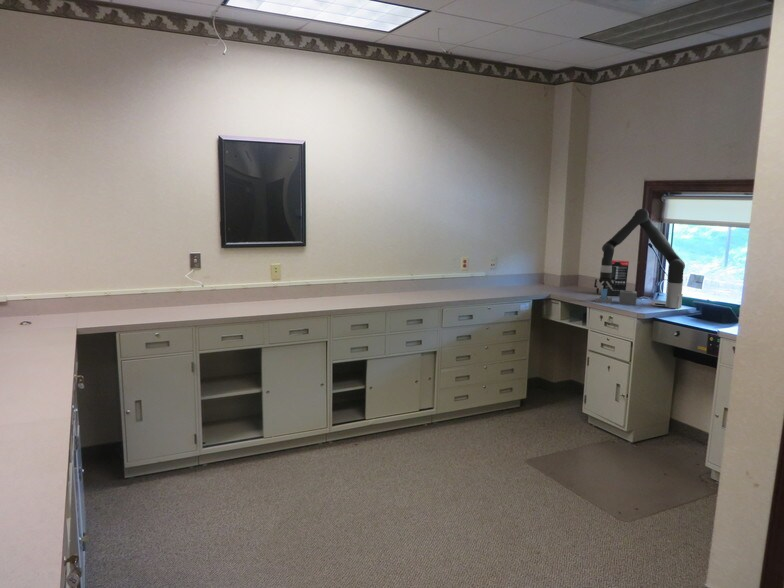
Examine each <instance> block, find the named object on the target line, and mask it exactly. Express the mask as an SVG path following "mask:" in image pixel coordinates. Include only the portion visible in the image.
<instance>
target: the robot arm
mask: <svg viewBox="0 0 784 588" xmlns="http://www.w3.org/2000/svg"><path fill="white" fill-rule="evenodd" d="M638 226H640V227H641V228H642V230H643V231H644V233H645V234H646V236H647V238H648V239H649V241H650V243H651V244H652V246H653V247H654V248H655V250H657V251H658V252H659V254H661V255H662V256H663V257H664V259H665V260H666V262H667V263H668V270H667V271H668V273H667V285H666V286H667V287H666V296H665V297H666V298H665V307H666V308H669V309H671V308H672V309H680V308H682V305H683V304H682V303H683V302H682V301H683V284H684V283H683V282H684V272H685V271H684V270H685V267H686V264H685V262H684V260H683V259H682V258H681V257H680V256H679V255H678V254H677V252H676V251H675V250H674V248H673V246H672V245H671V243H670V242H669V240H668V239H667V238H666V236H665V235H664V234H663V232H662V231H661V230H660V229H659V228H658V227H656V225H655V224H654V223H653V221H652V220H651V218H650V214H649V211H648V210H647V209H646V208H639V209H637V210H636V211H635V212H634V215H633V216H632V217H631V219H629V221H628V222H627V223H626V224H625V225H623V227H622V228H621V229H619V231H617V232H616V233H615V234H614V235H612V237H611V238H610V239H609V240H608V241H606V242H605V243H604V244H603V245H602V248H601V251H602V252H603V255H602V258H601V263H600V264H601V266H600V270H599V271H600V274H599V279H598V278H595V279H594V286H593V287H594V288H596V293H597V294H599V292H600V287H602V285H603V286H604V285H605V286H609V287H610V288H611V289H610V294H612V290H613V289H615V280H611V274H612V260H613V257H614V253H615V248H616V247H617V246H619V245H620V244H621V243H623V242H624V241H625V240H626V239H628V238H627V237H629V236H630V234H631V233H632V232H633V231H634V230H635V229H636V228H637V227H638ZM598 282H599V284H598ZM611 282H612V283H614V287H612V286H611V285H610V283H611ZM597 284H598V285H597Z"/></svg>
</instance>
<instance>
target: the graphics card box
mask: <svg viewBox="0 0 784 588" xmlns="http://www.w3.org/2000/svg"><path fill="white" fill-rule="evenodd" d="M629 263H630V262H629V260H613V259H612V274H611V280H615V289H613V290H612V294H610V289H611V288H610V287H609V286H605V285H604V286H603V285H601V289H607V296H614V297H620V290H626V291H627V281H628V271H629ZM610 285H611V286H612V287H614V283H612V282H611V283H610Z"/></svg>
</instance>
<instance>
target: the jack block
mask: <svg viewBox="0 0 784 588" xmlns="http://www.w3.org/2000/svg"><path fill="white" fill-rule="evenodd" d="M637 296H638V292H637V291H636V290H627V289H626V290H620V296H619V298H618V299H619V300H618V305H625V304H626V306H637V299H638V298H637ZM594 301H597V302H596V303H601V302H606V303H605V304H612V302H613V297H611V296H610V297H608V296H607V299H601V296H596V297H595V299H594Z"/></svg>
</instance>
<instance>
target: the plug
mask: <svg viewBox="0 0 784 588" xmlns="http://www.w3.org/2000/svg"><path fill="white" fill-rule="evenodd" d="M600 292H601V293H600V297H601V299H607V297H608V295H607V289H602V288H601V290H600Z"/></svg>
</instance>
